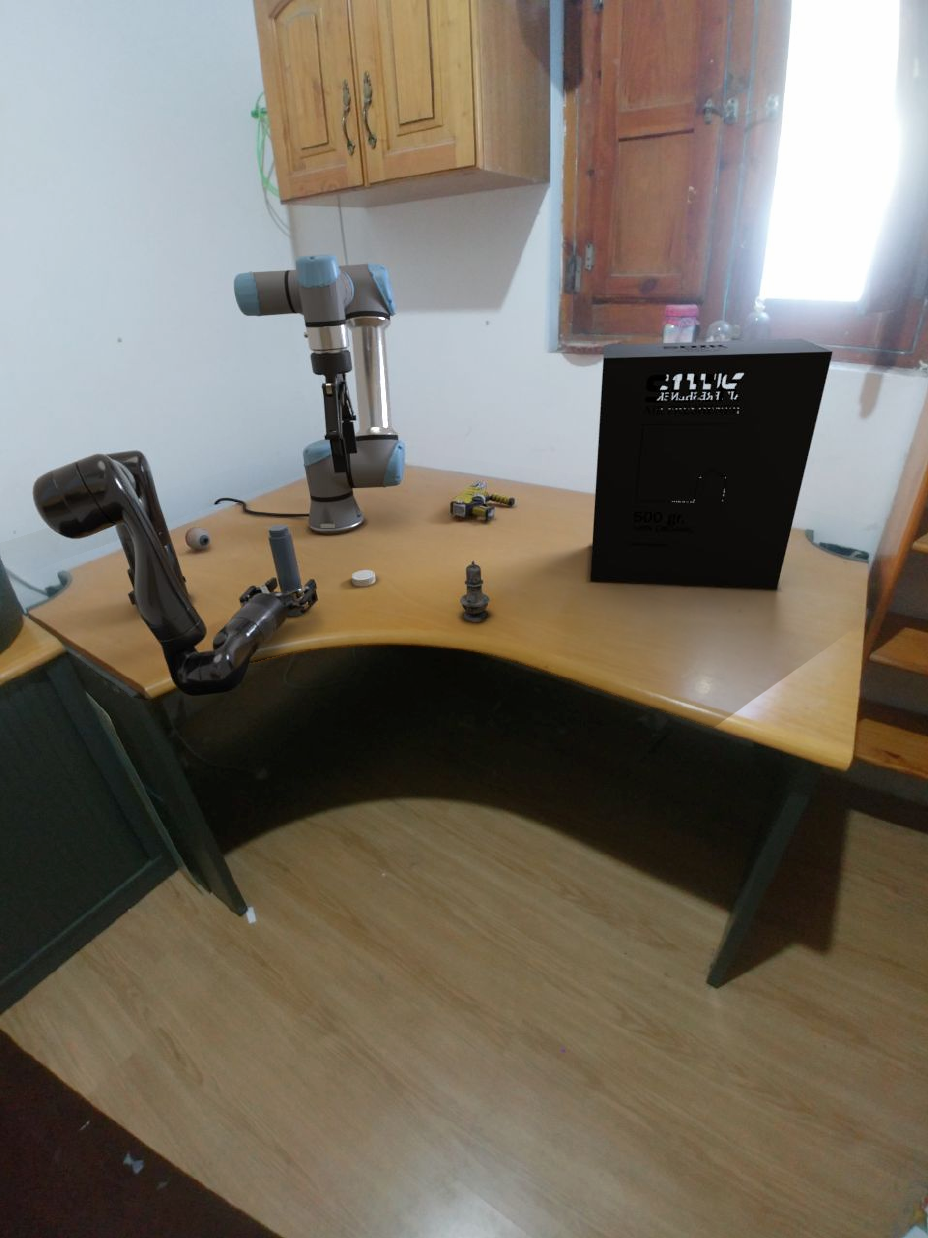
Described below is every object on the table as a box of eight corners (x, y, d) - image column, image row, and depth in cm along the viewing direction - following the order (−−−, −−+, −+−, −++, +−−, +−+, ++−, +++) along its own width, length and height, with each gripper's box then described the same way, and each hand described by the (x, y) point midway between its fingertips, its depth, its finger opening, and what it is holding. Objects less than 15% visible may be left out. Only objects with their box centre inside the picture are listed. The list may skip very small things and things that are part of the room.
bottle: (304, 616, 125) (286, 530, 115) (283, 617, 125) (263, 532, 115) (308, 605, 128) (291, 522, 119) (288, 606, 129) (269, 523, 119)
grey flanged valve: (487, 623, 118) (485, 567, 112) (458, 621, 119) (454, 566, 113) (492, 608, 123) (490, 554, 117) (464, 607, 124) (461, 553, 118)
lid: (380, 580, 137) (379, 574, 137) (361, 588, 134) (360, 582, 133) (366, 574, 141) (365, 567, 140) (348, 582, 138) (347, 575, 137)
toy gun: (523, 485, 181) (476, 478, 185) (501, 509, 161) (448, 500, 165) (521, 500, 184) (475, 493, 187) (499, 525, 163) (447, 517, 167)
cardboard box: (756, 549, 141) (800, 338, 118) (776, 589, 124) (832, 351, 101) (592, 544, 148) (604, 344, 126) (590, 580, 131) (603, 357, 109)
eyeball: (199, 555, 155) (192, 533, 152) (183, 551, 158) (177, 529, 155) (218, 547, 159) (212, 525, 156) (203, 543, 162) (197, 522, 159)
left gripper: (288, 605, 108) (323, 566, 122) (217, 601, 111) (258, 564, 125) (296, 640, 112) (329, 599, 126) (227, 636, 115) (266, 596, 128)
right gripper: (321, 343, 124) (337, 447, 135) (295, 360, 103) (317, 482, 114) (357, 341, 124) (371, 445, 135) (339, 358, 103) (357, 479, 114)
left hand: (294, 582), depth 125 cm, fingers open, 8 cm apart
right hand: (346, 462), depth 124 cm, fingers open, 13 cm apart
